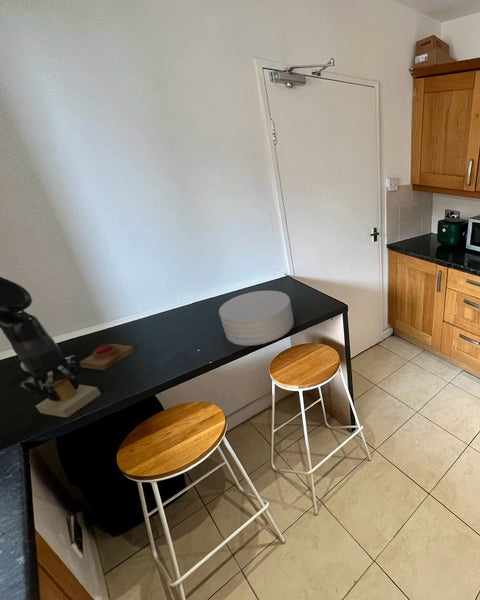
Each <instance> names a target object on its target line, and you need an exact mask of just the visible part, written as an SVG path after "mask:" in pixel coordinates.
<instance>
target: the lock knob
mask: <svg viewBox="0 0 480 600" xmlns="http://www.w3.org/2000/svg"><path fill="white" fill-rule="evenodd" d="M53 382H54V381H53ZM53 391H55V392H56V393H57V395H58V396H59V398H60V399H61V400H59V401H65V400H68V399H70V398H72V397H74V396H75V395H76V394H77V392H76V390H75V388H74V387H73V385H72V384H71V382H70V380H69V379H67V378H63V379H62V378H61V379H59V380H57V381H55V382H54V384H53Z"/></svg>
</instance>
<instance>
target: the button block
mask: <svg viewBox="0 0 480 600" xmlns="http://www.w3.org/2000/svg"><path fill="white" fill-rule="evenodd" d="M109 345H110V346H111V348H112V350H111V351H109V352H106V353H103V354H98V352H97V350H96V349H95V350H94V351H93V352H92V353H91V355H90V356H88V357H85V358H84V359H82V360H80V361H79V364H80V368H85V369H91V370H98V371H106V370H108V369H109V368H111V367H112V366H114V365H115V364H117V363H118V362H120V361H121V360H123V359H125V358H126V357H128V356H130V355H131V354H132V353H134V352H135V348H134V346H133V345H124V344H117V343H110V344H109Z"/></svg>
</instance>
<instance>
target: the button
mask: <svg viewBox="0 0 480 600" xmlns="http://www.w3.org/2000/svg"><path fill="white" fill-rule="evenodd" d="M95 350H97V352H98V354H103V353H106V352H109V351H111V350H112V348H111V346H110V344H109V343H107V344H102V345H100V346H98V347H96V348H95Z"/></svg>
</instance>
